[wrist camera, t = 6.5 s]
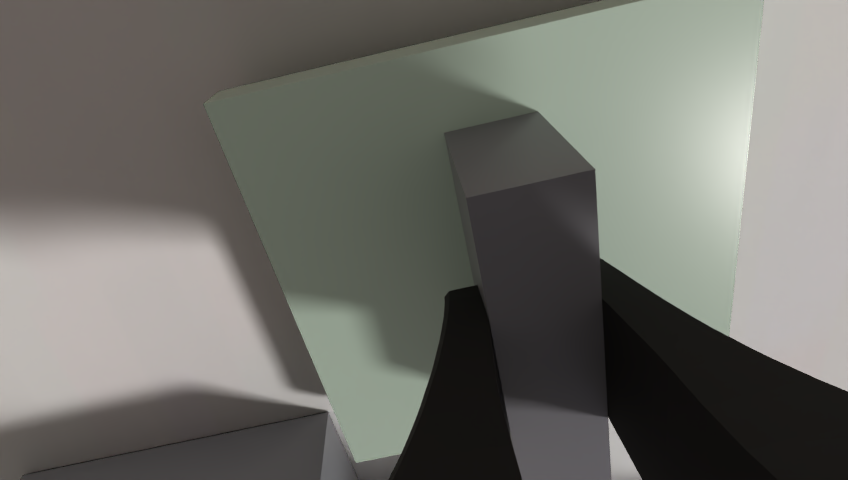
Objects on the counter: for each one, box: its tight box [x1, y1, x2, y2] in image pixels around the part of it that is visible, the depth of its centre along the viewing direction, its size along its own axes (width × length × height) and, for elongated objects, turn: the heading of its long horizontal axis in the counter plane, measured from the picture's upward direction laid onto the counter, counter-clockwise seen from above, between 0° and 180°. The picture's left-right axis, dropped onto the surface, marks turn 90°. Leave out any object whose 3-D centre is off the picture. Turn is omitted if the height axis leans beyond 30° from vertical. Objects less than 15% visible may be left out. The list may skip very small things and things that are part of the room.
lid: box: [203, 0, 764, 480], centre depth 11 cm, size 10×10×5 cm
